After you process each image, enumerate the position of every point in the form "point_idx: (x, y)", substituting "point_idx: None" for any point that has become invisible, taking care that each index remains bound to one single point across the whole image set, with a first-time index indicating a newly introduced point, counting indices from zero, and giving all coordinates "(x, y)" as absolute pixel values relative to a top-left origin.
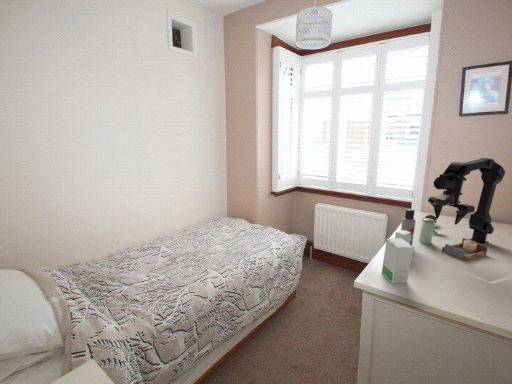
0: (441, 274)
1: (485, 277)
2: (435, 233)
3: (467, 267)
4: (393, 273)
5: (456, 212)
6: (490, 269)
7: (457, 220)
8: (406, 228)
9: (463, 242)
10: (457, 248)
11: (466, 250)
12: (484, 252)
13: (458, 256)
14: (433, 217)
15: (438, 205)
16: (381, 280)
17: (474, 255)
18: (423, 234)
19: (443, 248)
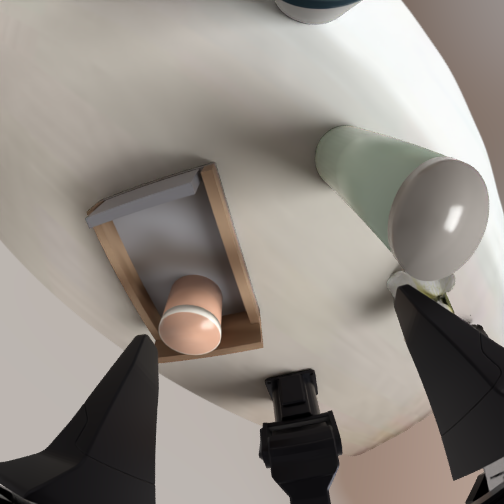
0: (25, 31)
1: (5, 188)
2: None
3: (57, 175)
4: None
5: (57, 477)
6: (55, 255)
7: (104, 381)
8: None
9: (252, 327)
10: (121, 211)
11: (181, 284)
12: (152, 332)
13: (121, 195)
14: None
15: (497, 444)
16: None
17: (118, 272)
18: (366, 135)
19: (203, 170)
